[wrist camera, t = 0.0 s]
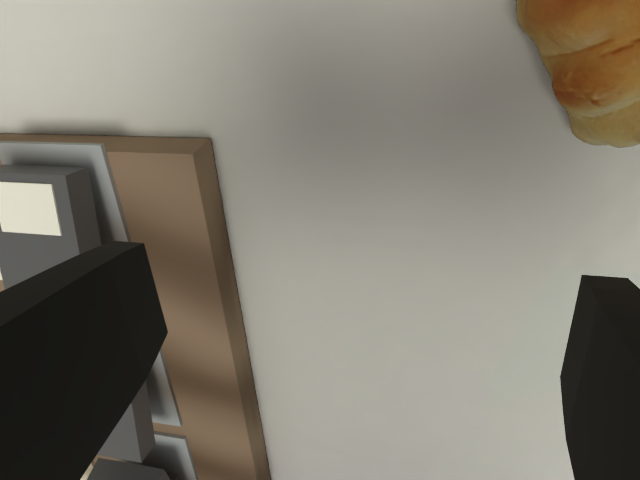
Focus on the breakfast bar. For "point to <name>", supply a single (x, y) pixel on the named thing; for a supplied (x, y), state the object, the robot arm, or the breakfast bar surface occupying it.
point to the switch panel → (174, 293)
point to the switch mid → (132, 431)
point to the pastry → (591, 63)
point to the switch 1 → (44, 218)
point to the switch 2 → (124, 471)
